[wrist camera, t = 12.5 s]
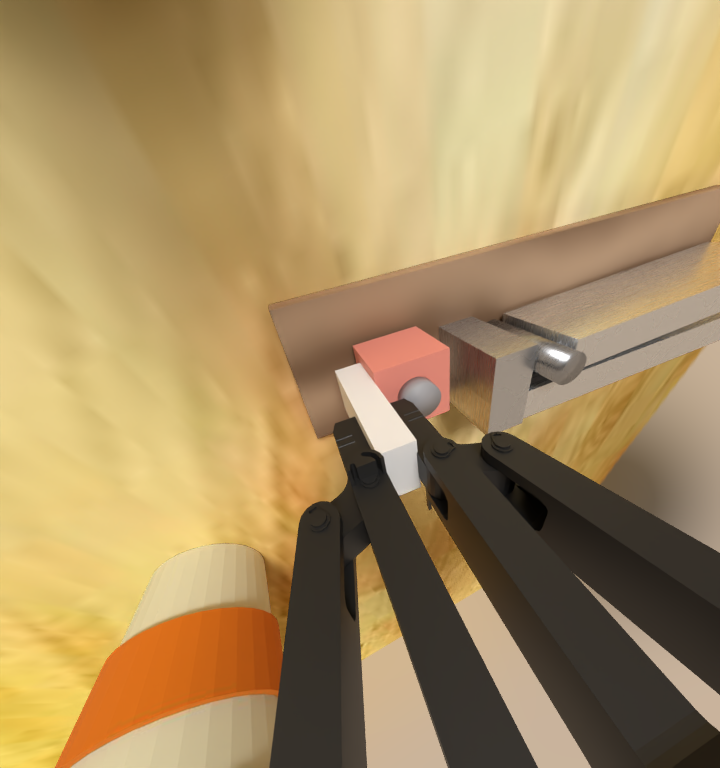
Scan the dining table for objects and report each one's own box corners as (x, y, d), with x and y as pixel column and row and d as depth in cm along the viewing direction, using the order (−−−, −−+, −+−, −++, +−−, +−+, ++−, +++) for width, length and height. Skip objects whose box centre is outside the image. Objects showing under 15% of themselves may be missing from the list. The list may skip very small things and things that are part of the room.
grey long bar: (438, 326, 17) (496, 358, 12) (701, 244, 20) (813, 248, 16) (440, 392, 19) (487, 436, 15) (670, 310, 23) (758, 327, 19)
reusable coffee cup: (263, 510, 22) (263, 888, 9) (296, 579, 28) (323, 853, 16) (83, 568, 19) (-259, 1211, 7) (166, 630, 25) (76, 1007, 13)
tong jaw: (478, 322, 17) (560, 357, 12) (707, 241, 20) (845, 245, 15) (477, 349, 18) (552, 391, 13) (694, 269, 21) (819, 281, 16)
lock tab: (352, 345, 15) (379, 381, 12) (415, 326, 16) (459, 354, 12) (364, 400, 17) (390, 444, 14) (419, 381, 18) (458, 418, 14)
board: (268, 305, 14) (269, 310, 13) (714, 185, 19) (738, 183, 18) (314, 427, 19) (317, 438, 18) (660, 305, 24) (677, 309, 23)
